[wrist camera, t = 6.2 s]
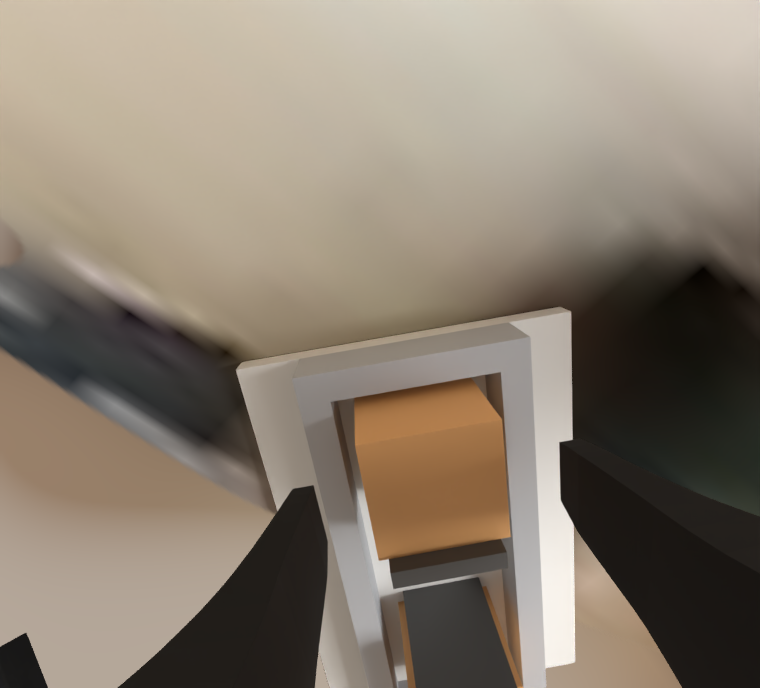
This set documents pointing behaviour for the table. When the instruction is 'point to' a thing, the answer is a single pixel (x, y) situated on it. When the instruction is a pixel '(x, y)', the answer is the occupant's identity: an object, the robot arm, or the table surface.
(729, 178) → the table surface
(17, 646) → the dark thin upright piece
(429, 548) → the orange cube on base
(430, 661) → the grey frame base
